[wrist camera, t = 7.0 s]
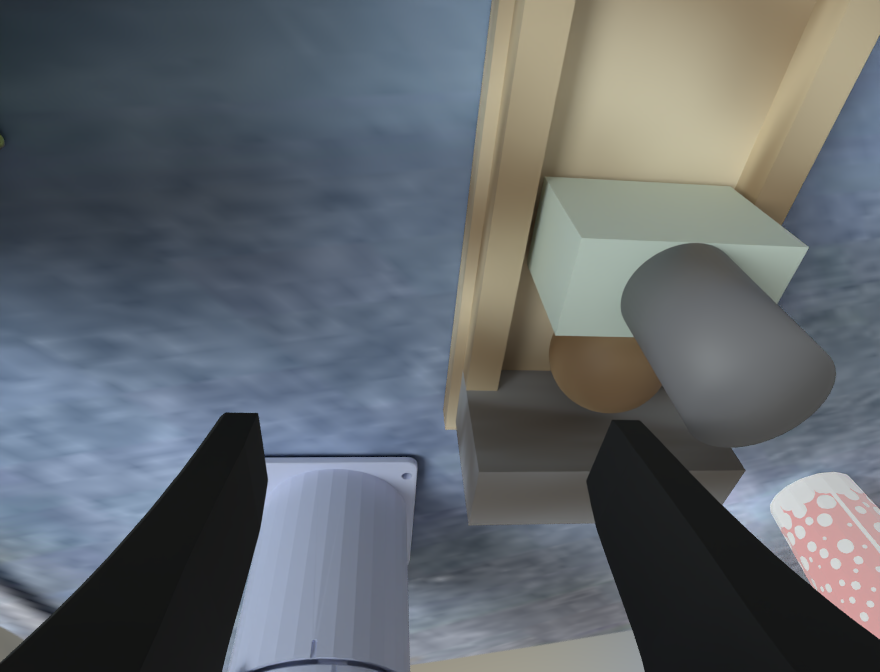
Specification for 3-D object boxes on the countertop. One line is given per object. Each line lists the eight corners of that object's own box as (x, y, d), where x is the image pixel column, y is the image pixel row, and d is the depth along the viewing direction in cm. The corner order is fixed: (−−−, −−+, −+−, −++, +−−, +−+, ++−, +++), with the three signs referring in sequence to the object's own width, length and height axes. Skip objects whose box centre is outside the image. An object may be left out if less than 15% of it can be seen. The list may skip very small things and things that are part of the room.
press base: (652, 411, 25) (715, 528, 20) (443, 409, 24) (456, 533, 19) (871, -64, 14) (1125, -58, 9) (504, -105, 13) (570, -121, 8)
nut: (625, 362, 21) (666, 437, 18) (529, 360, 21) (553, 438, 18) (658, 277, 19) (711, 348, 16) (550, 273, 18) (582, 345, 15)
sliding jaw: (694, 269, 18) (851, 447, 12) (526, 263, 18) (599, 447, 12) (730, 186, 17) (935, 345, 10) (544, 176, 16) (642, 339, 10)
